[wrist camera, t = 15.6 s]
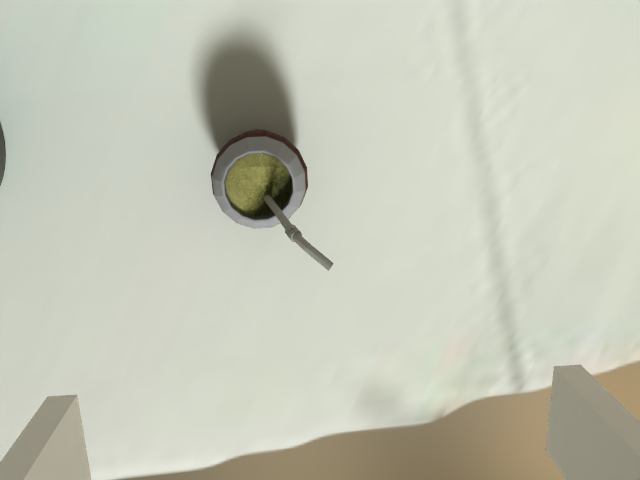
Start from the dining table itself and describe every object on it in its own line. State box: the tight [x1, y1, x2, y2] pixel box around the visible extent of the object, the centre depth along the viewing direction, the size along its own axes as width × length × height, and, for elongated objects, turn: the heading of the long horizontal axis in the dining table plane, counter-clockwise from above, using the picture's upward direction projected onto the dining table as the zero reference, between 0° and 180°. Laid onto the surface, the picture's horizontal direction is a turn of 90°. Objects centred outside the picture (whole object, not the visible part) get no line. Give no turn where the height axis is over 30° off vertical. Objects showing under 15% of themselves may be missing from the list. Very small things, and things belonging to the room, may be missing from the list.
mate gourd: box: [211, 130, 333, 271], centre depth 39 cm, size 8×8×15 cm
